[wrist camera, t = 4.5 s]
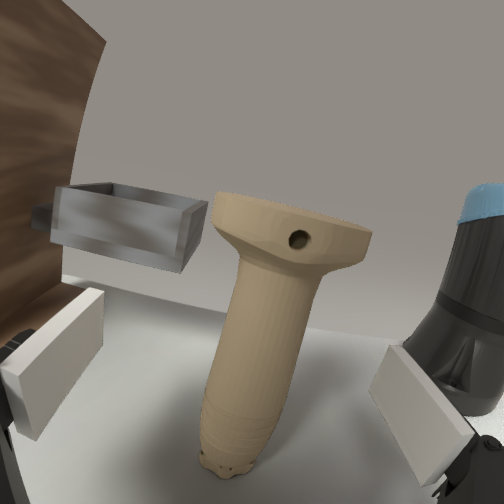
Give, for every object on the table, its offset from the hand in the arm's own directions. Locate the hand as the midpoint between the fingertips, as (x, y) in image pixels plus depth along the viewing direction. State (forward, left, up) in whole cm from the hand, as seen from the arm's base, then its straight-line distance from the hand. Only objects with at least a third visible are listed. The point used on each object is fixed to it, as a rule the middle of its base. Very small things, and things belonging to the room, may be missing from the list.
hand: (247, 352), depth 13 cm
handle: (-1, -1, -9) cm, 9 cm away
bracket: (+12, -9, -9) cm, 18 cm away
